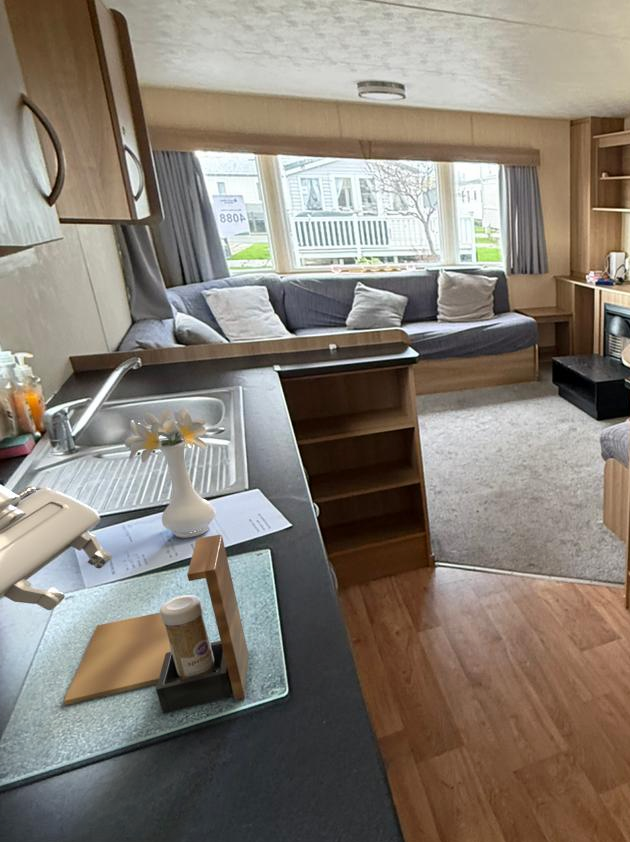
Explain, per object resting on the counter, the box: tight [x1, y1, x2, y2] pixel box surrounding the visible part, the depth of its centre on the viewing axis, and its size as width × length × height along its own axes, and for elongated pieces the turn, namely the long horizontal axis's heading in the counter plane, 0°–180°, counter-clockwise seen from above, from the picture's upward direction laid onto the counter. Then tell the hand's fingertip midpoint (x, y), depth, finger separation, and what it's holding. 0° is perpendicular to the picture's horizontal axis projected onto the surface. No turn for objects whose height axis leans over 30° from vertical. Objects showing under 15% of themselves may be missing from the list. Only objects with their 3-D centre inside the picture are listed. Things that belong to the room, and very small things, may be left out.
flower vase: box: [124, 407, 217, 539], centre depth 127 cm, size 13×18×25 cm
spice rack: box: [155, 533, 249, 715], centre depth 86 cm, size 10×10×20 cm
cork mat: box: [63, 612, 171, 706], centre depth 96 cm, size 12×18×1 cm, turn 24°
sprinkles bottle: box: [159, 594, 218, 681], centre depth 87 cm, size 5×5×14 cm
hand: (83, 582), depth 83 cm, fingers open, 8 cm apart
